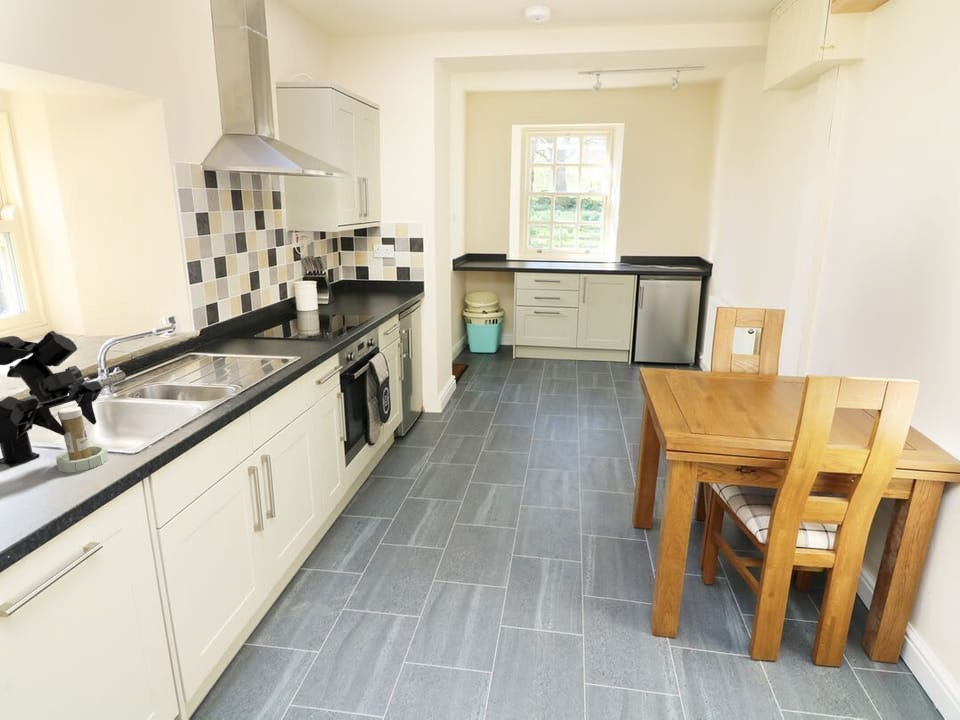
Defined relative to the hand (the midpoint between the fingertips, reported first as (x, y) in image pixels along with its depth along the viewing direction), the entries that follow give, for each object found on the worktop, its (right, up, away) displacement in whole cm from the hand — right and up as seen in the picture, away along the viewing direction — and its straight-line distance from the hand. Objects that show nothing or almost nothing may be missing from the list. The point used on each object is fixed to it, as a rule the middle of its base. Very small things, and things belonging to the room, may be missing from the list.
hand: (80, 428), depth 137 cm
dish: (-1, -9, +3) cm, 9 cm away
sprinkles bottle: (-1, -8, +3) cm, 9 cm away
